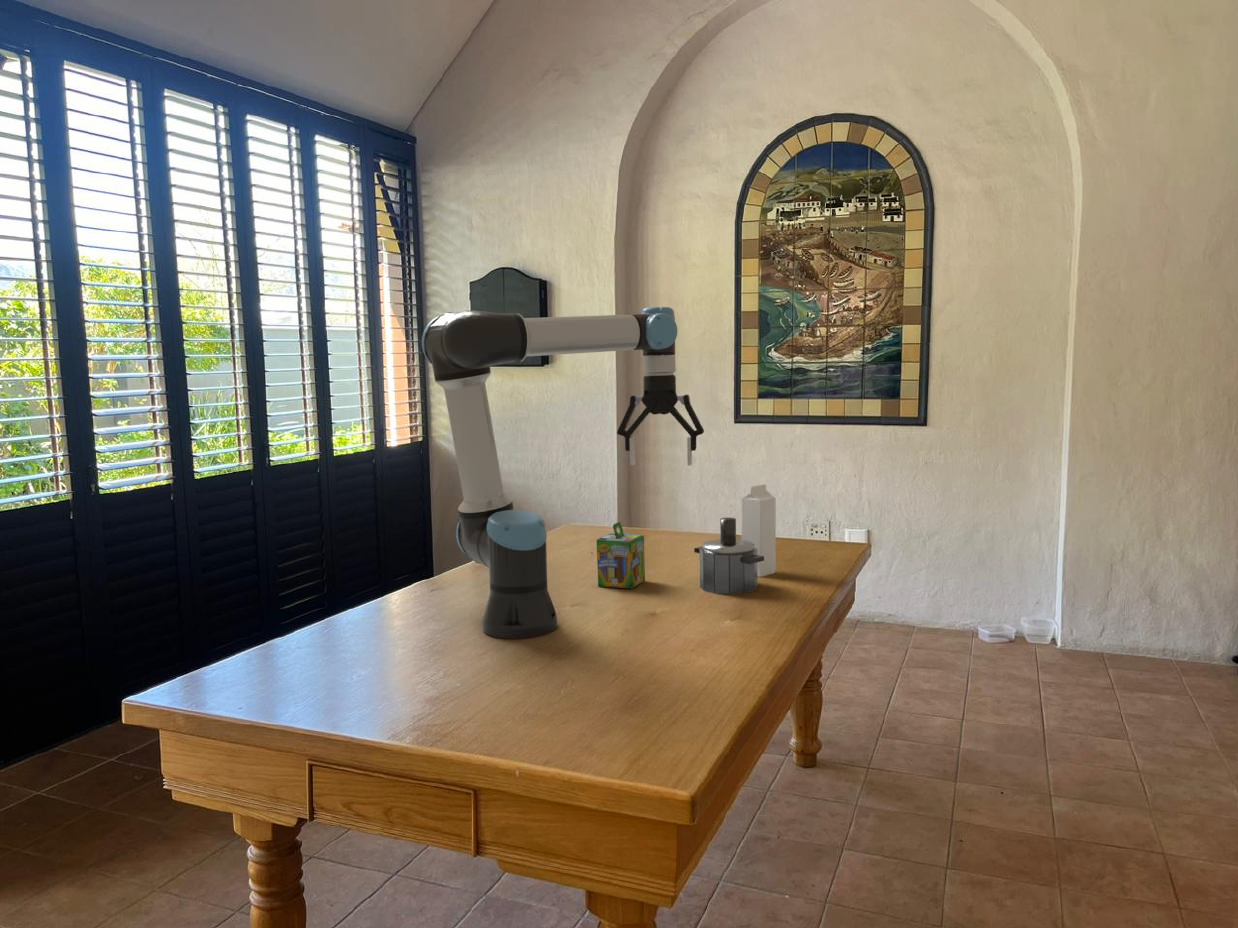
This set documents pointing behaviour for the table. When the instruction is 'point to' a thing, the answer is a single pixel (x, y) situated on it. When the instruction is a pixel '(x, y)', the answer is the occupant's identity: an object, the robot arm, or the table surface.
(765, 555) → the milk
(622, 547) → the chalk box
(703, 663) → the table surface
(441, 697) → the table surface
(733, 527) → the lid
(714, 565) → the pot
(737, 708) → the table surface
